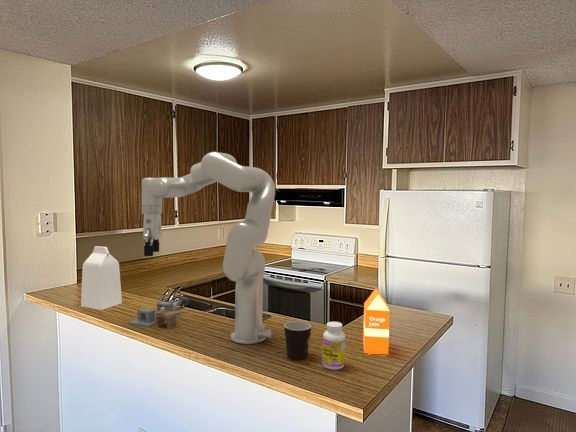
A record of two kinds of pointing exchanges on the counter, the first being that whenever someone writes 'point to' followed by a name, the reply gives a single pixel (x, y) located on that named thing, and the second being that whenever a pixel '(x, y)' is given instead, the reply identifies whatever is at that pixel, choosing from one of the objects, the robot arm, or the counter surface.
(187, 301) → the shaft
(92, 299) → the milk
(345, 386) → the counter surface
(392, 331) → the counter surface
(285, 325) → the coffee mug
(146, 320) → the bearing block
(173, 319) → the block
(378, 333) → the orange juice
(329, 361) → the supplement bottle
